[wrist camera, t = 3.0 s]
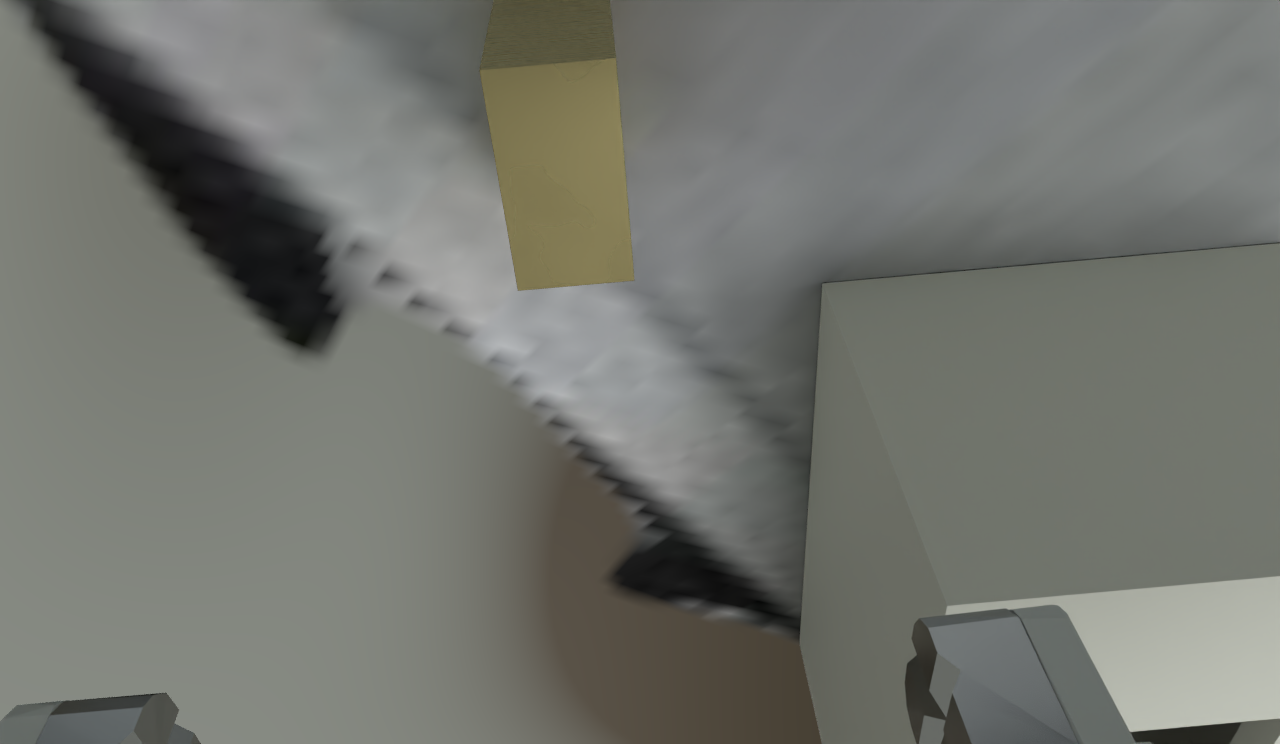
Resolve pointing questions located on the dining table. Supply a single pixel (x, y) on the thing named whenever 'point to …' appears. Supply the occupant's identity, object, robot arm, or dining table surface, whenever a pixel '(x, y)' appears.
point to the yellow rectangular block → (558, 141)
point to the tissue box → (1053, 482)
